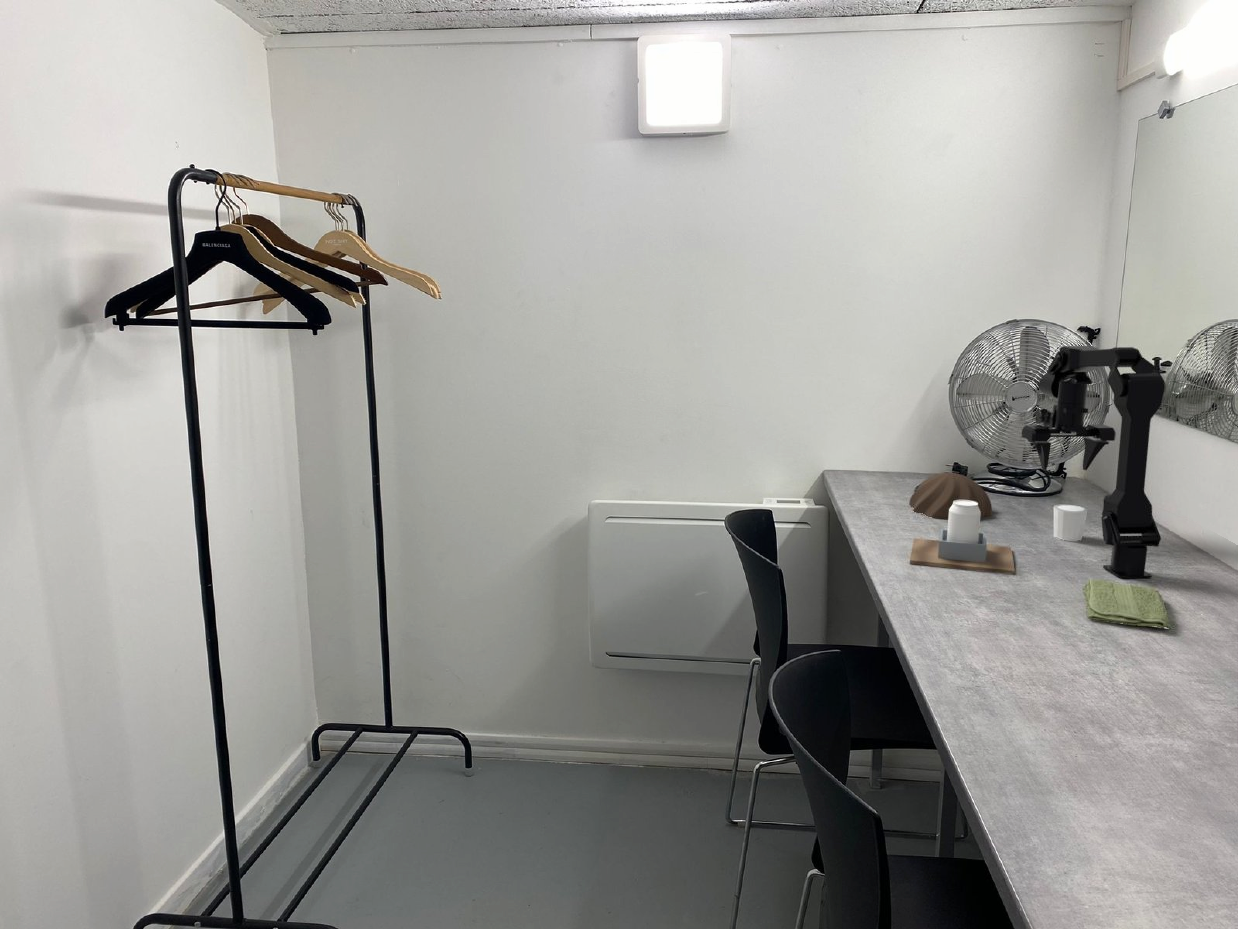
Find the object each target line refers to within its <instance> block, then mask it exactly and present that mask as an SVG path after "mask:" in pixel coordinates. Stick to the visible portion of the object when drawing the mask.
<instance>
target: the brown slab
mask: <svg viewBox="0 0 1238 929" xmlns="http://www.w3.org/2000/svg"><path fill="white" fill-rule="evenodd" d="M912 543H913V544H912V547H911V552H910V558H909V564H911V565H919V566H927V565H928V567H936V568H937V567H938V568H948V569H956V568H957V570H967V571H979V572H987V573H996V574H997V573H998V574H1005V575H1007V574H1008V575H1015V571H1016V570H1015V565H1014V564H1015V563H1014V557H1013V550H1012V547H1011V546H1000V545H990V544H987V548H986V560H985V562H975V561H964V560H954V559H944V558H938V550H939V539H938V540H936V539H926V538H924V539H923V538H915V537H914V538H913V542H912Z"/></svg>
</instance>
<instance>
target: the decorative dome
mask: <svg viewBox="0 0 1238 929" xmlns="http://www.w3.org/2000/svg"><path fill="white" fill-rule="evenodd" d="M955 500H970V501H974V502H977V503H978V507H979V509H980V512H981V515H980V521H981V520H982V519H983V518H986V517H989V516H990V517H991V516H992V515H993V506H992V502H991V500H990V498H989V495H988V493H987V492H985V490H984V488H982V487H981V485H979V484H978V483H977V482H975V481H974V480H973V479H972V478H970V477H968V476H965V475H963V474H959V473H955V472H952V471H951V472H941V473H938V474H935V475H933V476H930V477H928V478H927V479H925V480H923V481H922V482H921V483H920V484H919V485H918V487H917V490H915V492H914V493H913V494H912V495H911V497H910V498H909V504H908V505H910V506H911V508H912V507H913V508H914V509H913V508H912V511H914V512H913V513H915V512H916V513H915V514H919V513H923V514H925V515H926V516H925V515H924V516H925V517H927V516H928V518H929V517H932V518H931V519H939V518H942V519H941V520H948V518H949V509H950V507H951V506H952V504H953V501H955ZM910 506H909V507H910ZM923 514H922V515H923ZM943 518H945V519H943Z"/></svg>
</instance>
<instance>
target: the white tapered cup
mask: <svg viewBox="0 0 1238 929" xmlns="http://www.w3.org/2000/svg"><path fill="white" fill-rule="evenodd" d="M1087 515H1088V509H1087V508H1086V507H1083V506H1079V505H1074V504H1065V503H1064V504H1063V503H1062V504H1055V505H1054V506H1053V537H1054V538H1055V537H1057V538H1059V539H1058V540H1060V539H1062V540H1061V541H1064V540H1067V541H1066V542H1079V541H1078V540H1080V541H1081V540H1082V538H1083V535H1084V529H1085V524H1086V520H1087ZM1057 538H1056V539H1057Z"/></svg>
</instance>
